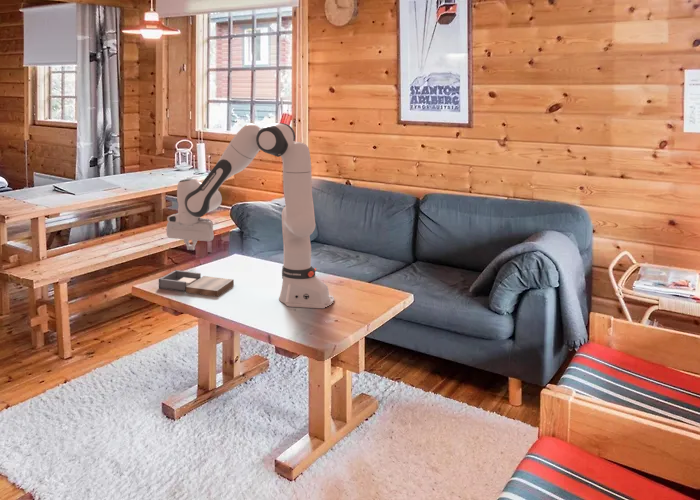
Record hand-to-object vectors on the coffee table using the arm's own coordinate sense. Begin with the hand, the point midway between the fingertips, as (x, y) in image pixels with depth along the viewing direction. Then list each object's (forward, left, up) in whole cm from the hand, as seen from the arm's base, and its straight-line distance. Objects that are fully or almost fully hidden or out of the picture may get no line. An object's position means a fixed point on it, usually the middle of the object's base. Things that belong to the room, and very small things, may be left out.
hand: (191, 249), depth 267 cm
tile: (+2, 0, -16) cm, 16 cm away
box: (+5, 0, -16) cm, 17 cm away
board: (-9, 0, -16) cm, 18 cm away
